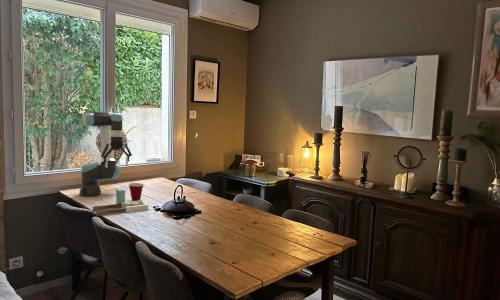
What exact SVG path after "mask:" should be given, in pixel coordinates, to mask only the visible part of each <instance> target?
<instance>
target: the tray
mask: <svg viewBox="0 0 500 300" xmlns="http://www.w3.org/2000/svg"><path fill="white" fill-rule="evenodd" d="M126 202H127V201H125V202H123V203H121V204H122V208H126V212H125V213H129V212H130V213H131V212H137V211H145V210H149V204H148V203H147V202H145V200H141V199H140V200H139V201H132V200H131V201H130V202H131V203H132V202H138V203H139V205H138V206H129V207H125V203H126Z"/></svg>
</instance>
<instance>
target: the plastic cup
mask: <svg viewBox="0 0 500 300" xmlns="http://www.w3.org/2000/svg"><path fill="white" fill-rule="evenodd" d="M144 186H145V184H144V183H140V182H129V183H128V188H129V193H130V197H131V202H132V201H141V198H142V193H143V187H144Z"/></svg>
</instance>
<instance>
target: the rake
mask: <svg viewBox="0 0 500 300" xmlns="http://www.w3.org/2000/svg"><path fill="white" fill-rule="evenodd" d="M115 196H116V198H115V199H116V200H115V204H120V203H123V202H126V190H125V189H124V188H123V187H117V188H115Z"/></svg>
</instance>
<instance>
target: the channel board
mask: <svg viewBox="0 0 500 300" xmlns="http://www.w3.org/2000/svg"><path fill="white" fill-rule="evenodd" d="M92 212H95V216H97V217H98V216H106V215H112V214H121V213H127V212H126V208H125V207H122V204H121V203H120V204H116V203H114V204H113V203H112V204H105V205H94V206H92Z"/></svg>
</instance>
